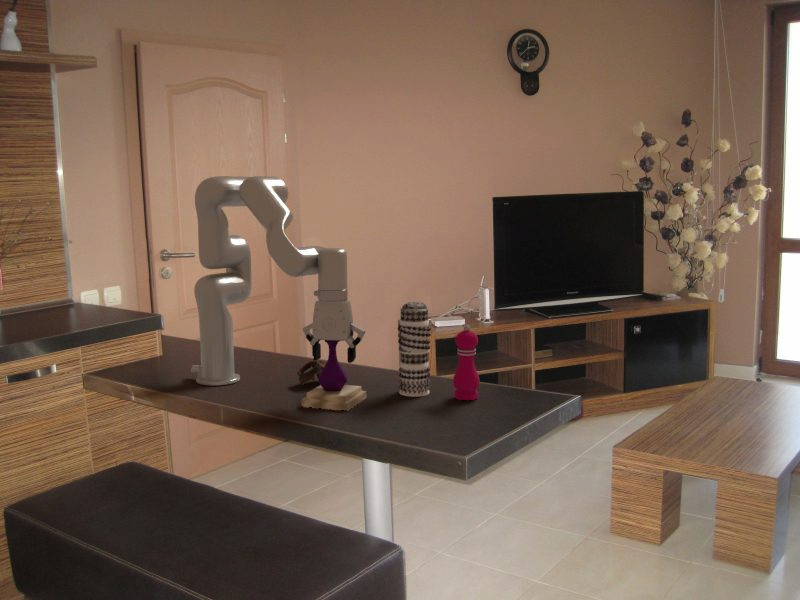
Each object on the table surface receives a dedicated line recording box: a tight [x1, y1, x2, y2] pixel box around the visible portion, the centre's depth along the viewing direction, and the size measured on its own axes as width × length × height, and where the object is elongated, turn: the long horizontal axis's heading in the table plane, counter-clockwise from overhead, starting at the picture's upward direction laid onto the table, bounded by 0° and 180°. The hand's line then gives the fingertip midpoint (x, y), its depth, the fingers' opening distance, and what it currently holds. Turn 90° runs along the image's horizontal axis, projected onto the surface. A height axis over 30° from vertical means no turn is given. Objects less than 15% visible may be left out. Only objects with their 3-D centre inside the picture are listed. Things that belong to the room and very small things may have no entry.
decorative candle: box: [397, 301, 432, 398], centre depth 213 cm, size 9×9×25 cm
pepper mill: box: [452, 324, 481, 402], centre depth 208 cm, size 7×7×20 cm
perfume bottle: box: [317, 340, 348, 391], centre depth 204 cm, size 8×8×18 cm
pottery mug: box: [297, 359, 326, 386], centre depth 225 cm, size 12×10×8 cm
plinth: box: [301, 384, 367, 412], centre depth 205 cm, size 13×13×4 cm
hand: (334, 360), depth 204 cm, fingers open, 9 cm apart
